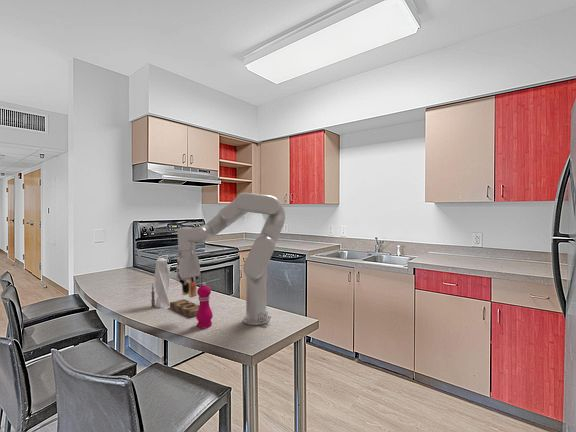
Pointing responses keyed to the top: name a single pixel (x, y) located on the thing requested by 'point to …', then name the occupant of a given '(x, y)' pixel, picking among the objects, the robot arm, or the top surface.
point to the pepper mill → (204, 307)
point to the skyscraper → (161, 283)
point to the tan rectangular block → (190, 289)
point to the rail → (185, 307)
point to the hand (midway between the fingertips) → (189, 291)
